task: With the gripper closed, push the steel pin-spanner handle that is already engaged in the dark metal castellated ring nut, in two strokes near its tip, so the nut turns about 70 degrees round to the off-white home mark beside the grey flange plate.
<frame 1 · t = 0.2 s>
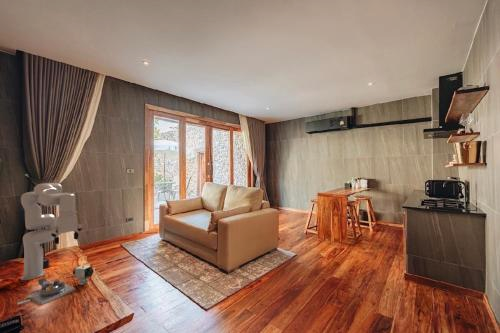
hand: (66, 241, 134), 30 cm above the table, fingers open, 9 cm apart
pneumatic valve: (83, 283, 142), on the table
flange plate: (52, 293, 130), on the table
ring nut: (48, 285, 132), point 4 cm above the table, hinge at 0.0°
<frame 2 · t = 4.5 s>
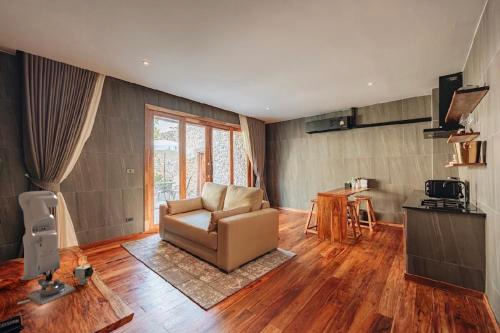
hand: (49, 281, 138), 4 cm above the table, fingers closed
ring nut: (48, 285, 132), point 4 cm above the table, hinge at 0.7°, touching gripper
everything else where it was.
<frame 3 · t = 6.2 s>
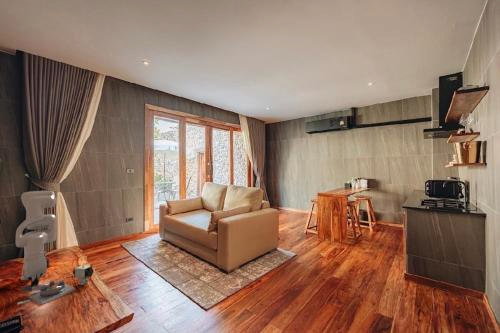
hand: (34, 286, 132), 4 cm above the table, fingers closed
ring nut: (43, 287, 129), point 4 cm above the table, hinge at 32.1°, touching gripper
everything else where it was.
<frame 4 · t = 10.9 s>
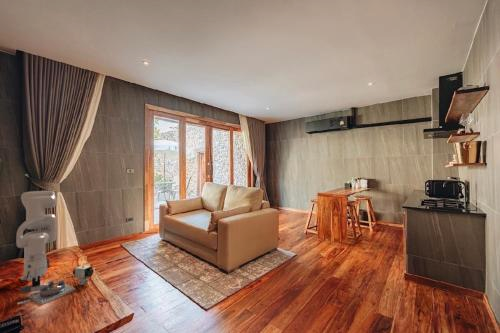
hand: (36, 286, 131), 4 cm above the table, fingers closed
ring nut: (42, 288, 129), point 4 cm above the table, hinge at 36.8°, touching gripper
everything else where it was.
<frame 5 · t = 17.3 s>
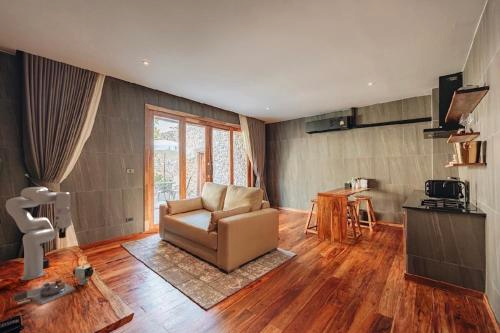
hand: (62, 237, 146), 29 cm above the table, fingers closed
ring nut: (40, 290, 126), point 4 cm above the table, hinge at 73.7°
everything else where it was.
at the end: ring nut at +74° (first picture: +0°); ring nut touching nothing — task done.
